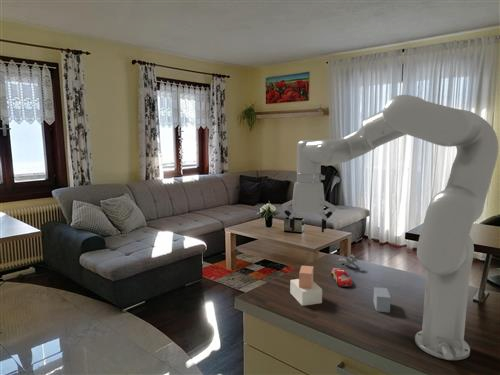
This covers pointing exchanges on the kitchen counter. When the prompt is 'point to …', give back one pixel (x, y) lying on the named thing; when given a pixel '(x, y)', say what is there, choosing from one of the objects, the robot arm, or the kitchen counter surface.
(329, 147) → the robot arm
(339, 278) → the race car
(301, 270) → the terracotta brick
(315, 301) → the cream brick
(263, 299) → the kitchen counter surface
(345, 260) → the elephant figurine
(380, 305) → the slate brick
